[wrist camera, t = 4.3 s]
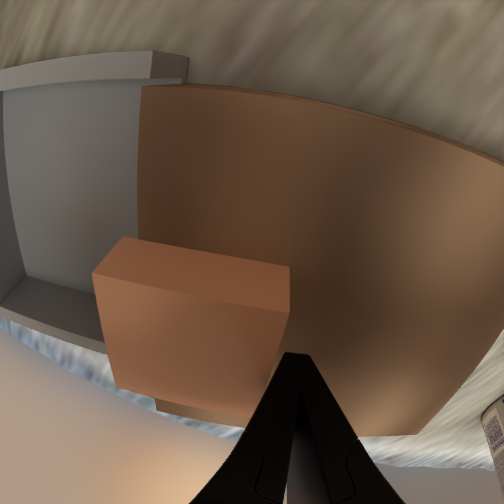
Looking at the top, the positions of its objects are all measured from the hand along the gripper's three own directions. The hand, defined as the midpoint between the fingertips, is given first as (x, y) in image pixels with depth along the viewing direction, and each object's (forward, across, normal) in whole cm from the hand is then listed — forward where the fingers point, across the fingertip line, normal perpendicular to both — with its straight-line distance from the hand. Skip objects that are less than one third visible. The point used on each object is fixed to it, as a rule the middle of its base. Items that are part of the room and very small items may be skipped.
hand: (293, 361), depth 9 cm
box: (+5, +10, -2) cm, 12 cm away
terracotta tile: (+1, +3, 0) cm, 3 cm away
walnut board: (+5, -2, 0) cm, 5 cm away
